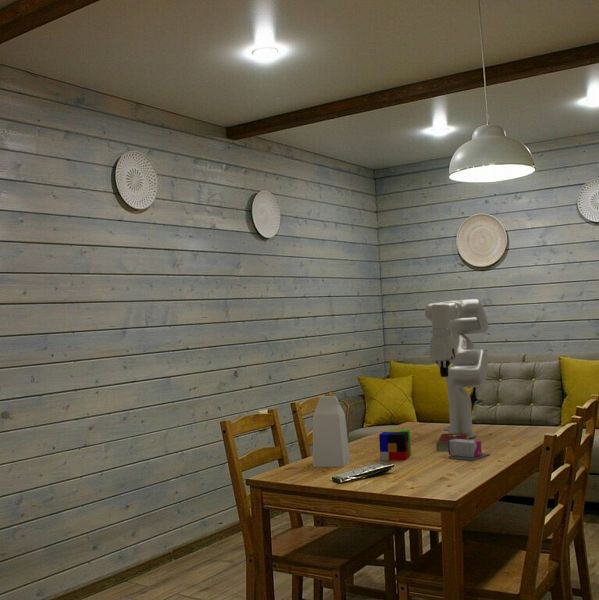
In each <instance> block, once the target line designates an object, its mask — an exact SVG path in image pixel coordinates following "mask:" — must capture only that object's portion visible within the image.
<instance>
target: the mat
mask: <svg viewBox="0 0 599 600" xmlns="http://www.w3.org/2000/svg"><path fill="white" fill-rule="evenodd" d="M490 456H491V453H487V452H486V453H484V452H482V455H481V456H478V457H474V458H472V457H463V456H455V455H451V456H449V457H448V459H450V460H458V461H468V462H473V461H477V460H479V459H482V458H485V457H486V458H487V457H490Z"/></svg>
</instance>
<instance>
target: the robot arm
mask: <svg viewBox="0 0 599 600" xmlns="http://www.w3.org/2000/svg"><path fill="white" fill-rule="evenodd" d="M424 315H425V317H426V319H427V320H428V321H430V322H431V324H432V329H431V330H430V334H432V336H431V337H430V341H429V342H430V343H429V357H430V360H432V361H431V362H432V363H434V364H436V365H437V366H438V368H439V373H440V378H444V379H445V384H446V387H447V395H448V411H449V426H446V425H445V426H444V428H443V431H444V432H448V434H452V433H469V439H473V438H476V437H477V433H476V432H473V421H472V404H471V401H472V400H471V395H470V393H469V392H468V391H467V390H466V389H465V388H479V387H482V386H484V385H485V382H486V378H487V373H488V364H489V357H488V353H487V351H486V350H485V349H484V348H476V347H475V348H474V342H473V341H472V340H471V339H470V338H469V337H468V336H467V335H472V334H477V335H478V334H484V333H486V332H487V331H488V329H489V321H488V318H487V315H486V312H485V309H484V306H483V304H482V302H481V301H480V300H479V299H477V298H472V299H471V298H470V299H455V300H447V301H440V302H432V303H431V302H430V303H427V305H425V309H424ZM451 364H452V365H451ZM450 365H451V366H450Z"/></svg>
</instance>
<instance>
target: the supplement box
mask: <svg viewBox="0 0 599 600" xmlns="http://www.w3.org/2000/svg"><path fill="white" fill-rule="evenodd" d="M448 448H449V451H448V456H463V457H472V458H474V457H478V456H481V455H482V453H483V452H482V441H481V440H475V439H469V440H466V439H457V438H456V439H451V440H448Z"/></svg>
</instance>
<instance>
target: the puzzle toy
mask: <svg viewBox="0 0 599 600" xmlns="http://www.w3.org/2000/svg"><path fill="white" fill-rule="evenodd" d="M378 436H379V437H378V441H379V456H380V461H402V460H406V461H407V460H408V459H409V458H410V457H411V456H412V448H411V447H412V446H411V431H410V430H407V429H406V430H405V429H404V430H403V429H402V430H399V429H397V430H396V429H394V430H393V429H389V430H387V429H386V430H384V431H382V432H381V433H380V434H378Z"/></svg>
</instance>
